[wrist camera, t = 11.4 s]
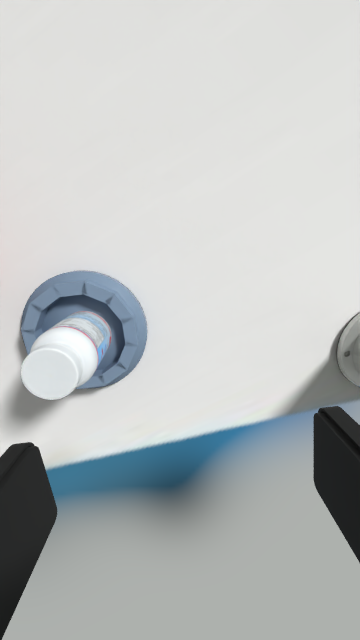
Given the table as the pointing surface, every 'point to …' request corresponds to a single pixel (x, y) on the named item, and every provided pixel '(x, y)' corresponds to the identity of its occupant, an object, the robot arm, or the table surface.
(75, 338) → the pill bottle
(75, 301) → the round tray
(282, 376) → the table surface
